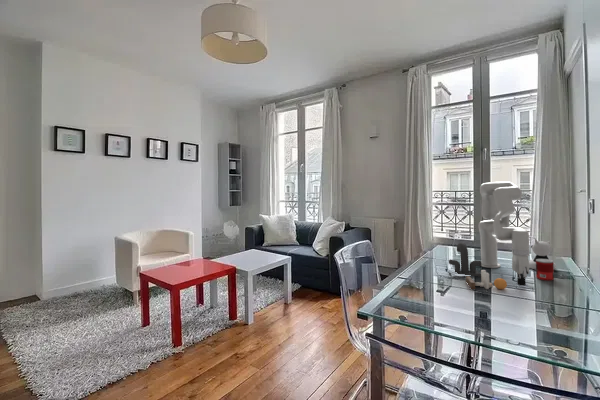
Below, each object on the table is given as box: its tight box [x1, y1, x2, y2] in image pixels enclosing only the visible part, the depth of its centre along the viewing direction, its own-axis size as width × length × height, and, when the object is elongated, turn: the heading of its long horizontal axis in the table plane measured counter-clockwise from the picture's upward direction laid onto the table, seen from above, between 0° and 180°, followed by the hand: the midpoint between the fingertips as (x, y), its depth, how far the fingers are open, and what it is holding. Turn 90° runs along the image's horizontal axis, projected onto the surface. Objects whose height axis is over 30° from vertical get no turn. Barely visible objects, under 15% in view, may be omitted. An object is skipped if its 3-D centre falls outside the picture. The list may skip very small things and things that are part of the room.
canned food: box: [535, 258, 555, 282], centre depth 172 cm, size 8×8×11 cm
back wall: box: [465, 276, 476, 290], centre depth 168 cm, size 12×2×4 cm, turn 163°
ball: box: [493, 277, 508, 290], centre depth 161 cm, size 6×6×6 cm
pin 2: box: [483, 272, 490, 290], centre depth 163 cm, size 2×2×8 cm
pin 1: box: [480, 269, 487, 283], centre depth 168 cm, size 2×2×8 cm
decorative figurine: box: [528, 238, 557, 271], centre depth 190 cm, size 15×15×20 cm
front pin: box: [474, 281, 494, 288], centre depth 166 cm, size 2×2×8 cm
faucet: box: [448, 241, 482, 278], centre depth 191 cm, size 18×16×20 cm
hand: (521, 285), depth 161 cm, fingers closed
